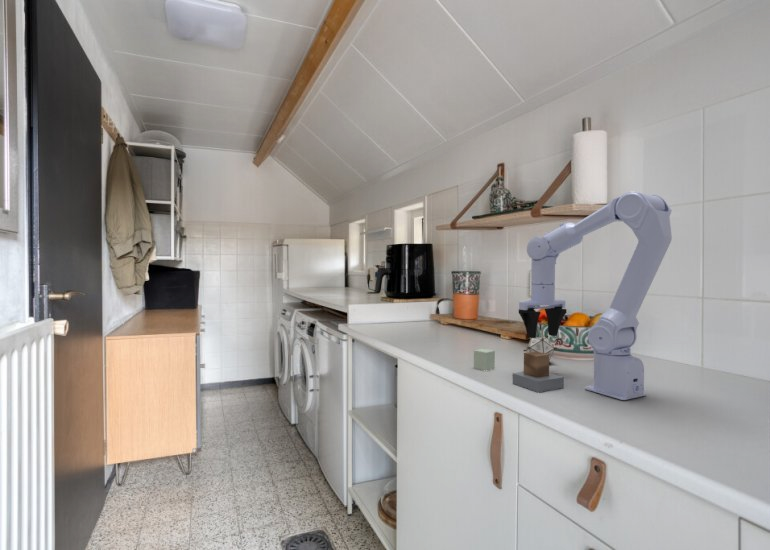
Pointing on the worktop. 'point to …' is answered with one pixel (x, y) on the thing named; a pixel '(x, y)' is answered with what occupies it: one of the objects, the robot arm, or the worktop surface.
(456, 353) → the worktop surface
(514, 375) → the slate tile
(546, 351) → the game die
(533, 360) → the walnut block
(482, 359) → the sage block
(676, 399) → the worktop surface
